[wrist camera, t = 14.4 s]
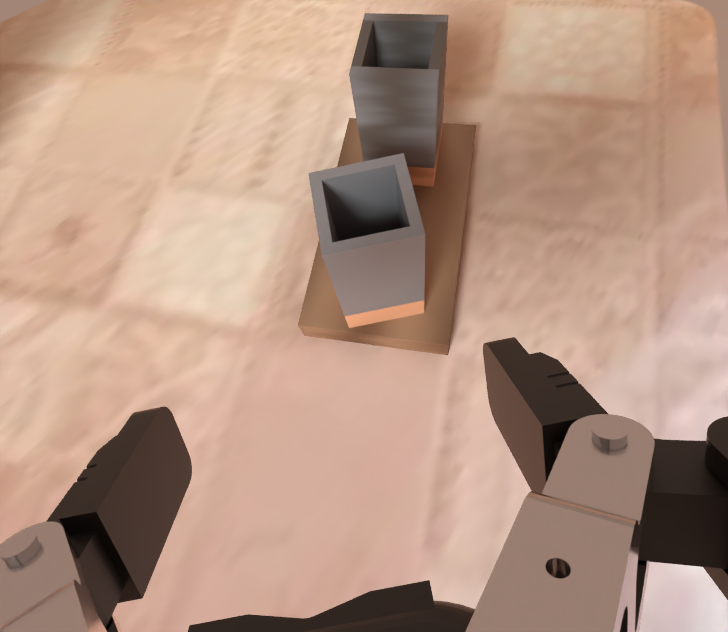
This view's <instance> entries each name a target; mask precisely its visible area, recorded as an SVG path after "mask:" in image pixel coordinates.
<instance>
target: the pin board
mask: <svg viewBox="0 0 728 632" xmlns="http://www.w3.org/2000/svg"><path fill="white" fill-rule="evenodd" d="M447 29H448V15H422V14H370V13H365V15H364V19H363V23H362V27H361V31H360V35H359V38H358V42H357V46H356V50H355V54H354V58H353V61H352V65H351V69H350V73H349V75H350V82H351V88H352V94H353V100H354V106H355V112H356V119H354V118H349V122H348V126H347V130H346V134H345V138H344V142H343V146H342V150H341V154H340V158H339V162H338V166H337V167H341V166H345V165H350V164H355V163H359V162H364V161H369V160H373V159H378V158H383V157H387V156H392V155H397V154H401V153H404V156H405V160H406V164H407V167H408V171H409V175H410V179H411V182H412V186H413V190H414V194H415V197H416V201H417V205H418V209H419V212H420V216H421V220H422V224H423V227H424V231H425V288H424V313H421V314H416V315H412V316H407V317H402V318H397V319H392V320H387V321H382V322H377V323H372V324H367V325H362V326H358V327H353V328H349V326H348V324H347V321H346V319H345V316H344V313H343V311H342V308H341V305H340V303H339V300H338V297H337V295H336V292H335V289H334V287H333V284H332V282H331V279H330V276H329V274H328V271H327V268H326V266H325V263H324V260H323V258H322V254H321V248H320V242H319V243H318V247H317V251H316V255H315V259H314V263H313V267H312V271H311V275H310V279H309V283H308V287H307V291H306V295H305V299H304V303H303V307H302V311H301V315H300V319H299V323H298V326H299V327H300V329H301V330H302V332H303V333H304V335H306V336H313V337H320V338H327V339H335V340H342V341H349V342H357V343H364V344H371V345H378V346H386V347H393V348H400V349H408V350H415V351H422V352H429V353H437V354H444V355H448V350H449V343H450V335H451V327H452V319H453V311H454V303H455V294H456V286H457V278H458V270H459V262H460V254H461V245H462V237H463V229H464V221H465V213H466V205H467V196H468V188H469V180H470V172H471V164H472V155H473V147H474V139H475V131H476V125H460V124H442V122H443V103H444V85H445V66H446V48H447Z"/></svg>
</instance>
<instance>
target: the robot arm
mask: <svg viewBox="0 0 728 632" xmlns="http://www.w3.org/2000/svg"><path fill="white" fill-rule="evenodd" d="M483 355H484V364H485V373H486V381H487V390H488V398H489V404H490V408H491V412H492V415H493V418H494V420H495V422H496V424H497V426H498V428H499V430H500V432H501V434H502V436H503V438H504V439H505V441H506V443H507V445H508V447H509V449H510V451H511V453H512V455H513V456H514V458H515V460H516V462H517V464H518V466H519V468H520V470H521V471H522V473H523V475H524V477H525V479H526V481H527V483H528V485H529V487H530V488H531V490H532V491H531V492H529V493H528V495H527V496H526V498H525V500H524V502H523V504H522V506H521V508H520V511H519V513H518V515H517V517H516V520H515V522H514V524H513V526H512V529H511V531H510V533H509V535H508V538H507V540H506V542H505V544H504V546H503V549H502V551H501V553H500V555H499V558H498V560H497V562H496V564H495V567H494V569H493V571H492V573H491V576H490V578H489V580H488V582H487V585H486V587H485V589H484V591H483V593H482V596H481V598H480V600H479V602H478V605H477V607H476V609H472V608H469V607H466V606H463V605H460V604H455V603H450V602H443V601H433V596H432V591H431V586H430V581H429V580H428V581H423V582H418V583H412V584H407V585H402V586H396V587H391V588H386V589H381V590H375V591H370V592H368V593H365V594H363V595H361V596H359V597H356V598H354V599H352V600H350V601H347V602H345V603H343V604H341V605H338V606H336V607H334V608H332V609H329V610H327V611H325V612H323V613H320V614H318V615H316V616H313V617H311V618H305V619H301V618H287V617H274V616H261V615H243V616H238V617H232V618H227V619H222V620H216V621H211V622H206V623H200V624H195V625H190V626H189V629H188V632H639V628H640V621H641V615H642V608H643V602H644V595H645V589H646V582H647V576H648V569H649V563H650V562H661V563H671V564H681V565H691V566H701V567H704V569H705V570H706V571H707V573H708V574H709V575H710V577H711V578H712V579H713V581H714V582H715V584H716V585H717V586H718V588H719V589H720V590H721V592H722V593H723V594H724V596H725V597H726V598H727V600H728V417H723V418H720V419H718V420H716V421H714V422H713V423H712V424H711V425H710V426H709V427H708V430H707V440H706V441H683V440H661V439H654V438H653V436H652V434H651V432H650V431H649V430H648V429H647V428H645V427H644V426H643V425H641V424H640V423H638V422H636V421H634V420H631V419H629V418H626V417H622V416H618V415H610V414H608V413H607V412H606V411H605V410H604V409H603V408H602V407H601V406H600V405H599V403H598V402H597V401H596V400H595V399H594V398H593V397H592V396H591V395H590V394H589V393H588V392H587V391H586V390H585V388H584V387H583V386H582V385H581V384H578V381H577V380H576V379H575V378H574V377H573V376H572V375H571V374H569V371H568V370H567V369H566V368H565V367H564V366H563V365H562V364H561V363H560V362H559V361H558V360H556V359H554V358H552V357H550V356H548V355H546V354H543V353H541V352H539V353H534V354H528V353H527V351H526V350H525V349H524V348H523V347H522V345H521V344H520V343H519V342H518V341H517V339H516V338H514V337H513V338H508V339H503V340H498V341H493V342H488V343H484V345H483ZM191 475H192V465H191V459H190V456H189V453H188V451H187V448H186V446H185V443H184V441H183V439H182V436H181V434H180V431H179V429H178V426H177V424H176V422H175V419H174V417H173V415H172V413H171V411H170V410H169V409H168V408H167V407H159V408H154V409H149V410H144V411H139V412H135V413H133V414H132V415H131V417H130V418H129V420H128V421H127V422H126V424H125V425H124V427H123V428H122V430H121V431H120V432H119V434H118V435H117V436H115V437H114V438H113V439H111V440H110V441H109V442H108V443H107V444H105V445H104V446H103V447H102V448H101V449H99V450H98V451H97V453H96V454H95V455H94V457H93V458H92V459H91V461H90V462H89V464H88V465H87V469H84V470H83V472H82V473H81V475H80V476H79V477H78V479H77V482H75V483H74V484H73V485H72V487H71V488H70V490H69V491H68V492H67V494H66V495H65V496H64V498H63V499H62V501H61V502H60V503H59V505H58V506H57V507H56V509H55V510H54V512H53V513H52V514H51V516H50V517H49V518H48V520H47V521H46V522H43V523H39V524H35V525H32V526H30V527H28V528H25V529H23V530H21V531H20V532H18V533H16V534H14V535H13V536H11V537H10V538H8V539H7V540H5V541H4V542H3V543H1V544H0V632H121V629H120V626H119V624H118V622H117V620H116V619H115V617H114V615H113V612H114V609H115V607H116V605H117V603H120V602H125V601H131V600H136V599H141V598H143V596H144V593H145V591H146V588H147V586H148V583H149V581H150V579H151V576H152V574H153V571H154V569H155V566H156V564H157V561H158V559H159V557H160V554H161V552H162V549H163V547H164V544H165V542H166V539H167V537H168V535H169V532H170V530H171V527H172V525H173V522H174V520H175V517H176V515H177V513H178V510H179V508H180V505H181V503H182V500H183V498H184V495H185V493H186V491H187V488H188V486H189V483H190V480H191Z"/></svg>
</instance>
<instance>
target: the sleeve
mask: <svg viewBox="0 0 728 632" xmlns="http://www.w3.org/2000/svg"><path fill="white" fill-rule="evenodd" d="M309 179H310V185H311V192H312V198H313V204H314V210H315V217H316V223H317V229H318V235H319V242H320V248H321V254H322V258H323V260H324V263H325V266H326V268H327V271H328V274H329V276H330V279H331V282H332V284H333V287H334V289H335V292H336V295H337V297H338V300H339V303H340V305H341V308H342V311H343V313H344V316H345V319H346V321H347V324H348V326H349V328H353V327H358V326H362V325H367V324H372V323H377V322H382V321H387V320H392V319H397V318H402V317H407V316H412V315H416V314H421V313H424V288H425V231H424V227H423V224H422V220H421V216H420V212H419V209H418V205H417V201H416V197H415V194H414V190H413V186H412V182H411V179H410V175H409V171H408V167H407V164H406V160H405V156H404V153H401V154H397V155H392V156H387V157H383V158H378V159H373V160H369V161H364V162H359V163H355V164H350V165H345V166H341V167H336V168H331V169H327V170H322V171H317V172H313V173H309Z"/></svg>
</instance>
